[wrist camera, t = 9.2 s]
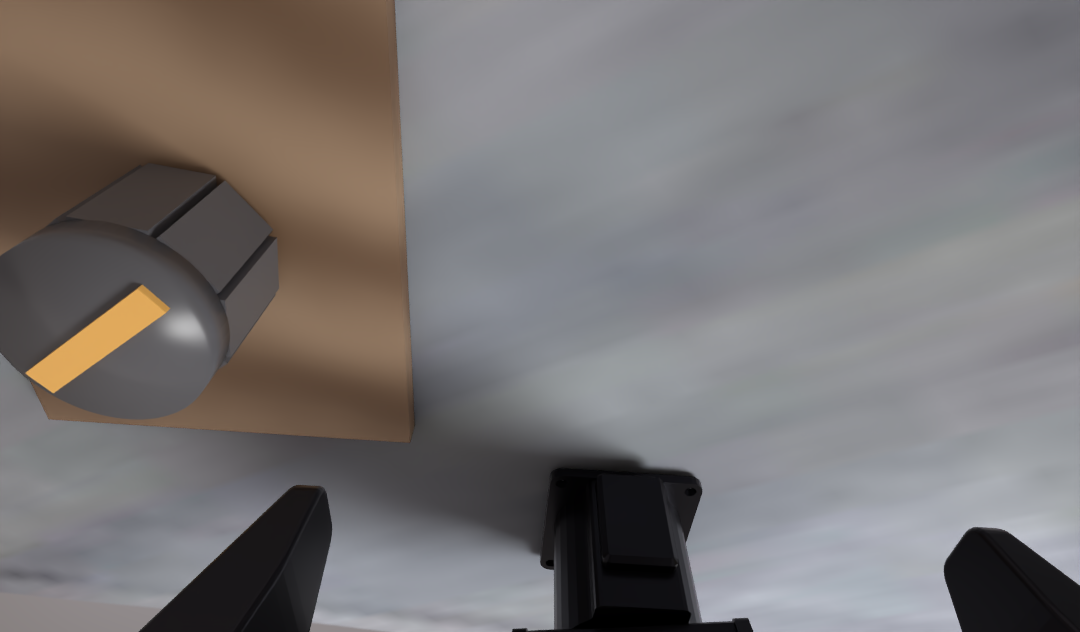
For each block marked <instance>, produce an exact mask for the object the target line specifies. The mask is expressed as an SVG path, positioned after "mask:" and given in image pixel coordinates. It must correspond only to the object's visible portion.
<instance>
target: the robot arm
mask: <svg viewBox="0 0 1080 632" xmlns="http://www.w3.org/2000/svg"><path fill="white" fill-rule="evenodd" d="M561 480H563V481H561ZM688 488H690V489H688ZM701 495H702V487H701V483H700V481H699V480H698V479H697V478H695V477H687V476H672V475H656V474H641V473H625V472H610V471H594V470H579V469H564V468H563V469H557V470H554V471H553V472H552V473H551V475H550V482H549V490H548V498H547V506H546V514H545V522H544V530H543V539H542V547H541V555H540V563H541V566H542V567H544V568H546V569H550V570H554V630H535V631H528V630H527V628H522V629H513V630H512V632H753V630H752V627H751V624H750V622H749V619H748V618H735V619H732V621H728V622H706V623H702V619H701V614H700V610H699V605H698V600H697V595H696V591H695V586H694V581H693V576H692V572H691V567H690V562H689V557H688V552H687V548H686V541H687V537H688V534H689V531H690V528H691V525H692V522H693V519H694V516H695V513H696V510H697V507H698V504H699V501H700V498H701ZM331 536H332V522H331V516H330V510H329V504H328V498H327V493H326V491H325V489H324V488H323V487H320V486H307V485H296V486H293V487H292V488H290V489H289V490H288V491H287V492H286V493H284V494H283V495H282V496H281V497H280V498H279V499H278V500H277V501H276V502H275V503H274V504H273V505H272V506H271V507H270V508H269V509H268V510H267V511H265V512H264V513H263V514H262V515H261V516H260V517H259V518H258V519H257V520H256V521H255V522H254V523H253V524H252V525H251V526H250V527H249V528H248V529H246V530H245V531H244V532H243V533H242V534H241V535H240V536H239V537H238V538H237V539H236V540H235V541H234V542H233V543H232V544H231V545H230V546H229V547H227V548H226V549H225V550H224V551H223V552H222V553H221V554H220V555H219V556H218V557H217V558H216V559H215V560H214V561H213V562H212V563H211V564H210V565H209V566H207V567H206V568H205V569H204V570H203V571H202V572H201V573H200V574H199V575H198V576H197V577H196V578H195V579H194V580H193V581H192V582H191V583H190V584H188V585H187V586H186V587H185V588H184V589H183V590H182V591H181V592H180V593H179V594H178V595H177V596H176V597H175V598H174V599H173V600H172V601H171V602H169V603H168V604H167V605H166V606H165V607H164V608H163V609H162V610H161V611H160V612H159V613H158V614H157V615H156V616H155V617H154V618H153V619H152V620H150V621H149V622H148V623H147V625H145V626H144V627H143V628H142V629H141V630H140V631H139V632H309V631H310V627H311V623H312V618H313V614H314V610H315V606H316V602H317V597H318V593H319V589H320V585H321V581H322V576H323V572H324V568H325V564H326V559H327V555H328V551H329V547H330V542H331ZM944 576H945V581H946V584H947V587H948V590H949V593H950V596H951V599H952V602H953V605H954V608H955V611H956V614H957V617H958V620H959V623H960V626H961V629H962V632H1080V585H1078V584H1077V583H1076V582H1074V581H1073V580H1072V579H1070V578H1069V577H1068V576H1066V575H1065V574H1064V573H1062V572H1061V571H1060V570H1058V569H1057V568H1056V567H1054V566H1053V565H1052V564H1050V563H1049V562H1048V561H1046V560H1045V559H1044V558H1042V557H1041V556H1040V555H1038V554H1037V553H1036V552H1034V551H1033V550H1032V549H1030V548H1029V547H1028V546H1026V545H1025V544H1024V543H1022V542H1021V541H1020V540H1018V539H1017V538H1016V537H1014V536H1013V535H1011V534H1010V533H1008V532H1007V531H1005V530H1002V529H997V528H983V527H973V528H971V529H969V530H968V531H967V532H966V533H965V534H964V535H963V537H962V538H961V540H960V541H959V543H958V544H957V545H956V547H955V548H954V550H953V551H952V552H951V554H950V555H949V557H948V558H947V560H946V561H945V565H944Z"/></svg>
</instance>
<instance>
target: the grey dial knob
mask: <svg viewBox="0 0 1080 632" xmlns="http://www.w3.org/2000/svg"><path fill="white" fill-rule="evenodd" d="M272 230H273V229H272V228H271V227H270V226H269V225H268V224H267V223H266V222H265V221H264V220H263V219H262V218H261V217H260V216H259V214H258V213H257V212H256V211H255V210H254V209H253V208H252V207H251V206H250V205H249V204H248V203H247V202H246V201H245V200H244V199H243V198H242V197H241V196H240V195H239V194H238V193H237V192H236V191H235V190H234V189H233V188H232V187H231V186H230V185H229V184H228V183H227V182H226V181H224V182H222V183H221V184H220V185H219V186H217V182H216V175H211V174H205V173H200V172H195V171H189V170H184V169H178V168H173V167H168V166H162V165H157V164H152V163H148V164H146V165H144V166H143V167H142V166H141V165H139V166H137V167H135V168H134V169H132V170H131V171H129V172H128V173H126V174H124V175H123V176H121V177H120V178H118V179H117V180H115V181H113V182H112V183H110V184H109V185H107V186H106V187H104V188H102V189H101V190H99V191H98V192H96V193H95V194H93V195H91V196H90V197H88V198H87V199H85V200H84V201H82V202H80V203H79V204H77V205H76V206H74V207H73V208H71V209H69V210H68V211H66V212H65V213H63V214H62V215H60V216H58V217H57V218H55V219H54V220H53V221H52V222H51V223H50V224H48V225H47V226H46V227H45V228H43V229H41V230H39V231H38V232H36V233H35V234H33V235H31V236H30V237H28V238H27V239H25V240H24V241H22V242H20V243H19V244H17V245H16V246H14V247H13V248H11V249H10V250H8V251H6V252H5V253H3V254H2V255H1V256H0V352H1V353H2V355H3V356H4V357H5V358H6V359H7V360H8V361H9V362H10V363H11V365H12V366H13V367H15V368H16V369H17V370H18V371H19V372H20V373H21V374H22V375H23V376H25V377H26V378H27V379H29V380H30V381H31V382H33V383H34V384H35V385H37V386H38V387H40V388H41V389H43V390H44V391H46V392H47V393H49V394H51V395H53V396H55V397H56V398H58V399H60V400H62V401H64V402H66V403H69V404H71V405H73V406H75V407H78V408H81V409H84V410H86V411H89V412H93V413H96V414H100V415H104V416H109V417H114V418H121V419H137V420H144V419H154V418H160V417H164V416H168V415H171V414H174V413H177V412H179V411H180V410H182V409H184V408H186V407H187V406H189V405H190V404H191V403H193V402H194V401H195V400H196V399H197V398H198V397H199V395H200V394H201V393H202V391H203V390H204V389H205V387H206V386H207V384H208V383H209V382H210V380H211V379H212V377H213V376H214V375H215V373H216V372H217V370H218V369H220V368H222V367H223V366H225V365H226V364H228V362H229V361H230V359H231V358H232V356H233V355H234V354H235V352H236V351H237V349H238V348H239V347H240V345H241V344H242V342H243V341H244V339H245V338H246V337H247V335H248V334H249V332H250V331H251V329H252V328H253V327H254V325H255V324H256V322H257V321H258V320H259V318H260V317H261V315H262V314H263V312H264V311H265V310H266V308H267V307H268V305H269V304H270V302H271V301H272V300H273V298H274V297H275V295H276V292H277V291H278V289H279V274H278V249H277V237H272V236H268V235H269V234H270V233H271V232H272Z"/></svg>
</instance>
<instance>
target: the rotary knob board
mask: <svg viewBox="0 0 1080 632" xmlns="http://www.w3.org/2000/svg"><path fill="white" fill-rule="evenodd" d="M148 163H152V164H157V165H162V166H168V167H173V168H178V169H184V170H189V171H195V172H200V173H205V174H211V175H216V182H217V186H219V185H220V184H221V183H222V182H224V181H226V182H227V183H228V184H229V185H230V186H231V187H232V188H233V189H234V190H235V191H236V192H237V193H238V194H239V195H240V196H241V197H242V198H243V199H244V200H245V201H246V202H247V203H248V204H249V205H250V206H251V207H252V208H253V209H254V210H255V211H256V212H257V213H258V214H259V216H260V217H261V218H262V219H263V220H264V221H265V222H266V223H267V224H268V225H269V226H270V227H271V228H272V229H273V230H272V232H271V233H270V234H269V235H268V236H272V237H277V249H278V274H279V289H278V291H277V292H276V295H275V297H274V298H273V300H272V301H271V302H270V304H269V305H268V307H267V308H266V310H265V311H264V312H263V314H262V315H261V317H260V318H259V320H258V321H257V322H256V324H255V325H254V327H253V328H252V329H251V331H250V332H249V334H248V335H247V337H246V338H245V339H244V341H243V342H242V344H241V345H240V347H239V348H238V349H237V351H236V352H235V354H234V355H233V356H232V358H231V359H230V361H229V362H228V364H226V365H225V366H223V367H222V368H220V369H218V370H217V372H216V373H215V375H214V376H213V377H212V379H211V380H210V382H209V383H208V384H207V386H206V387H205V389H204V390H203V391H202V393H201V394H200V395H199V397H198V398H197V399H196V400H195V401H194V402H193V403H191V404H190V405H189V406H187V407H186V408H184V409H182V410H180V411H179V412H177V413H174V414H171V415H168V416H164V417H160V418H154V419H144V420H137V419H121V418H114V417H109V416H104V415H100V414H96V413H93V412H89V411H86V410H84V409H81V408H78V407H75V406H73V405H71V404H69V403H66V402H64V401H62V400H60V399H58V398H56V397H55V396H53V395H51V394H49V393H47V392H46V391H44V390H43V389H41V388H40V387H38V386H37V385H35V384H34V383H33V382H31V381H30V382H31V384H32V386H33V388H34V390H35V392H36V394H37V396H38V398H39V400H40V402H41V404H42V406H43V408H44V410H45V412H46V414H47V417H48V419H52V420H68V421H83V422H98V423H114V424H129V425H144V426H160V427H175V428H190V429H206V430H221V431H236V432H251V433H267V434H282V435H297V436H313V437H328V438H343V439H359V440H374V441H389V442H404V443H410V442H411V438H412V434H413V430H414V426H415V419H414V398H413V377H412V356H411V336H410V315H409V294H408V273H407V252H406V231H405V210H404V189H403V168H402V147H401V126H400V105H399V84H398V63H397V43H396V22H395V1H394V0H0V256H1V255H2V254H3V253H5V252H6V251H8V250H10V249H11V248H13V247H14V246H16V245H17V244H19V243H20V242H22V241H24V240H25V239H27V238H28V237H30V236H31V235H33V234H35V233H36V232H38V231H39V230H41V229H43V228H45V227H46V226H47V225H48V224H50V223H51V222H52V221H53V220H54V219H55V218H57V217H58V216H60V215H62V214H63V213H65V212H66V211H68V210H69V209H71V208H73V207H74V206H76V205H77V204H79V203H80V202H82V201H84V200H85V199H87V198H88V197H90V196H91V195H93V194H95V193H96V192H98V191H99V190H101V189H102V188H104V187H106V186H107V185H109V184H110V183H112V182H113V181H115V180H117V179H118V178H120V177H121V176H123V175H124V174H126V173H128V172H129V171H131V170H132V169H134V168H135V167H137V166H139V165H141V166H142V167H143V166H144V165H146V164H148Z"/></svg>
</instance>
